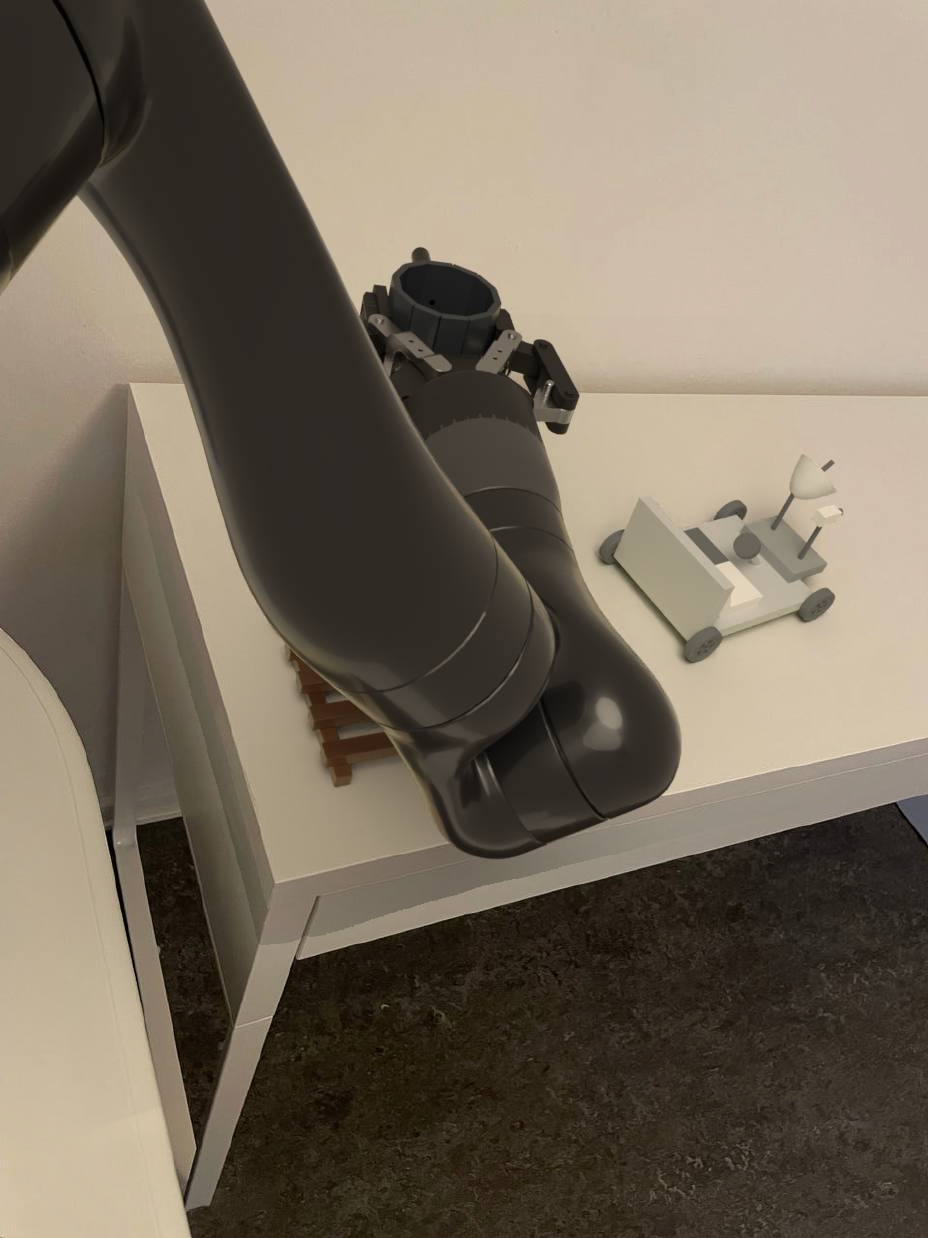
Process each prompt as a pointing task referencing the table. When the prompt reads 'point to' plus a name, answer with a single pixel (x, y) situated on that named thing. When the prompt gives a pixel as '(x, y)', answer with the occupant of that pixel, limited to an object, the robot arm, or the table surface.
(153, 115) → the robot arm
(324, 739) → the rack
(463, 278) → the pot
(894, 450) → the table surface
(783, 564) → the toy car
